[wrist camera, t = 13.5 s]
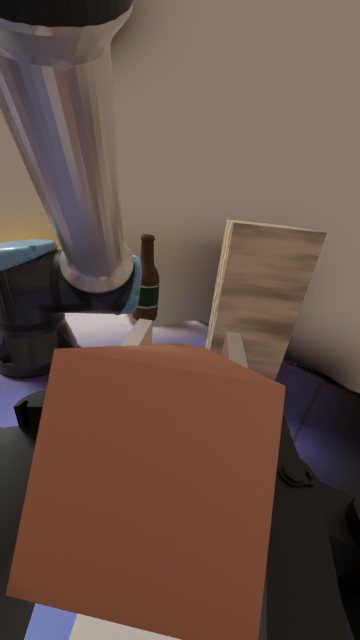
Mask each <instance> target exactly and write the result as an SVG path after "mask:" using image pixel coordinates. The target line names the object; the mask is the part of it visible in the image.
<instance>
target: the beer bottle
mask: <svg viewBox="0 0 360 640" xmlns="http://www.w3.org/2000/svg"><path fill="white" fill-rule="evenodd" d="M141 240H142V244H141V256H140V259H141V264H142V278H141V288H140V292H139V293H140V296H139V302H138V305H137V308H136V310H135V311H134V312H133V313H132V314H133V318H135V319H136V320H137V321H138V320H139V319H146V320H152V321H153V320H155V319H156V316H157V310H158V293H159V275H158V271H157V269H156V268H155V266H154V243H153V242H154V240H155V238H154V236H153V235H147V234H144V235H142V236H141Z"/></svg>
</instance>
